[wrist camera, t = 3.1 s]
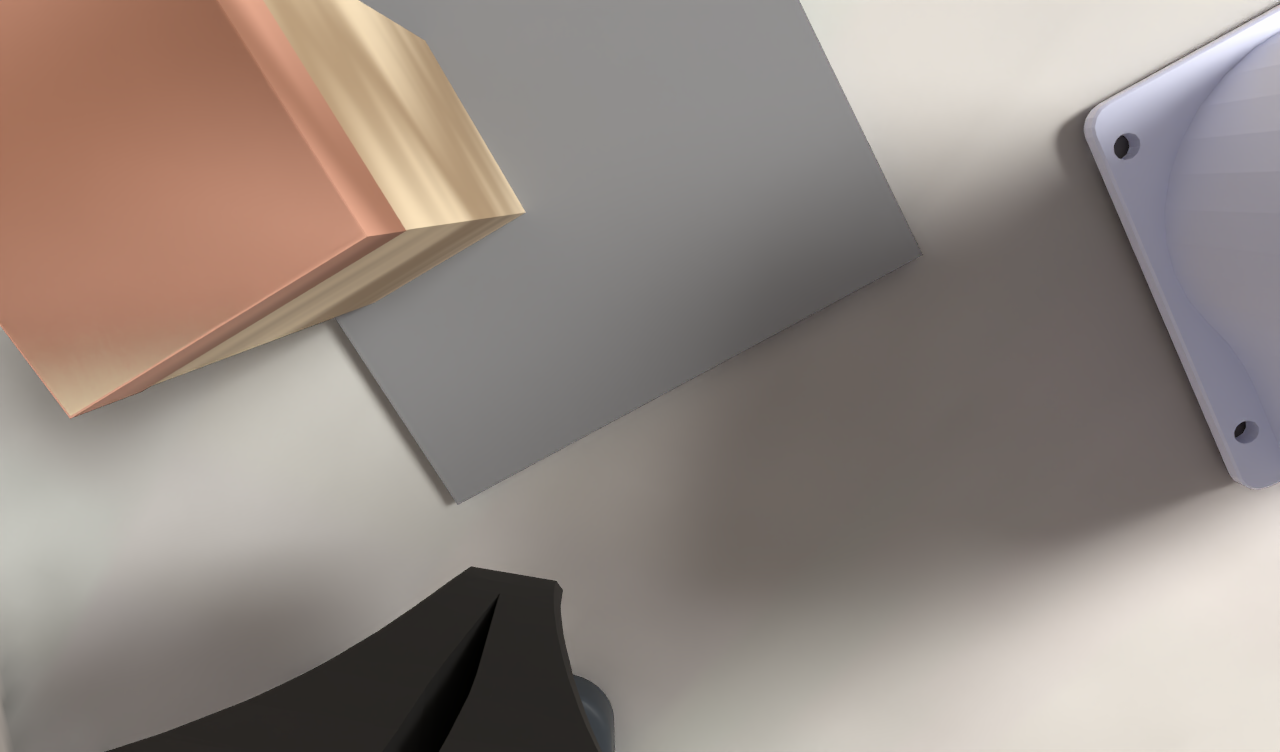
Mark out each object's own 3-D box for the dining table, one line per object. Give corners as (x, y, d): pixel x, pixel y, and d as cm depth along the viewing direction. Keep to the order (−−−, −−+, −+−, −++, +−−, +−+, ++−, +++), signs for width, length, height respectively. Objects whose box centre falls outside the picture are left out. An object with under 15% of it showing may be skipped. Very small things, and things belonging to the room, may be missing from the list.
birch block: (526, 213, 17) (367, 237, 8) (374, 303, 17) (70, 418, 9) (425, 39, 16) (126, -145, 7) (269, 140, 17) (-182, 83, 8)
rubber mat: (915, 252, 17) (922, 255, 17) (462, 496, 19) (457, 504, 18) (483, -635, 14) (476, -665, 13) (-16, -236, 16) (-39, -251, 15)
